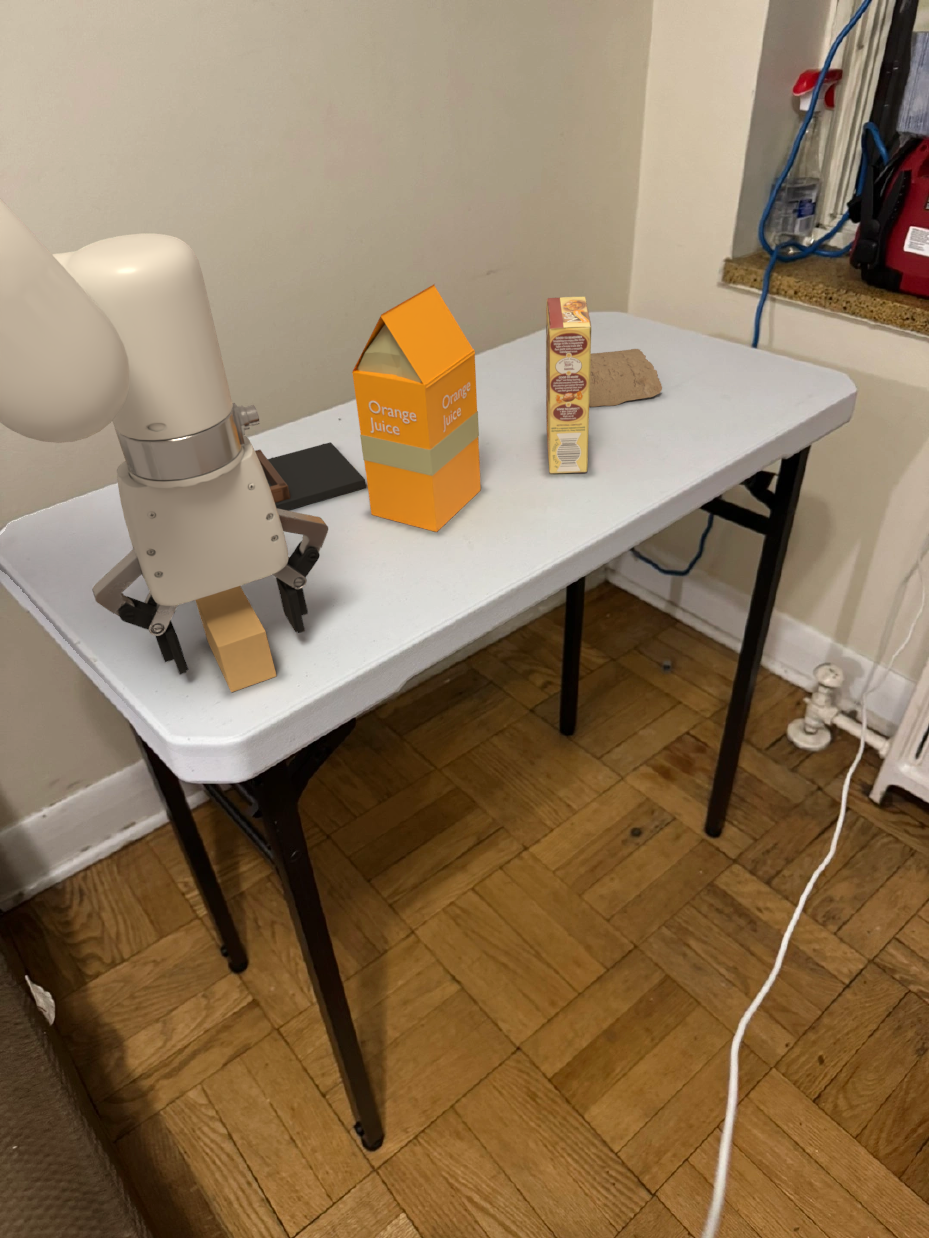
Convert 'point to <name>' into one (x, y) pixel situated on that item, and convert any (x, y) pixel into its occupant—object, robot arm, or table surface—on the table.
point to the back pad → (309, 476)
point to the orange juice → (418, 414)
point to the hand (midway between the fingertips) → (238, 642)
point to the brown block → (236, 638)
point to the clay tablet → (621, 378)
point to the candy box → (567, 383)
